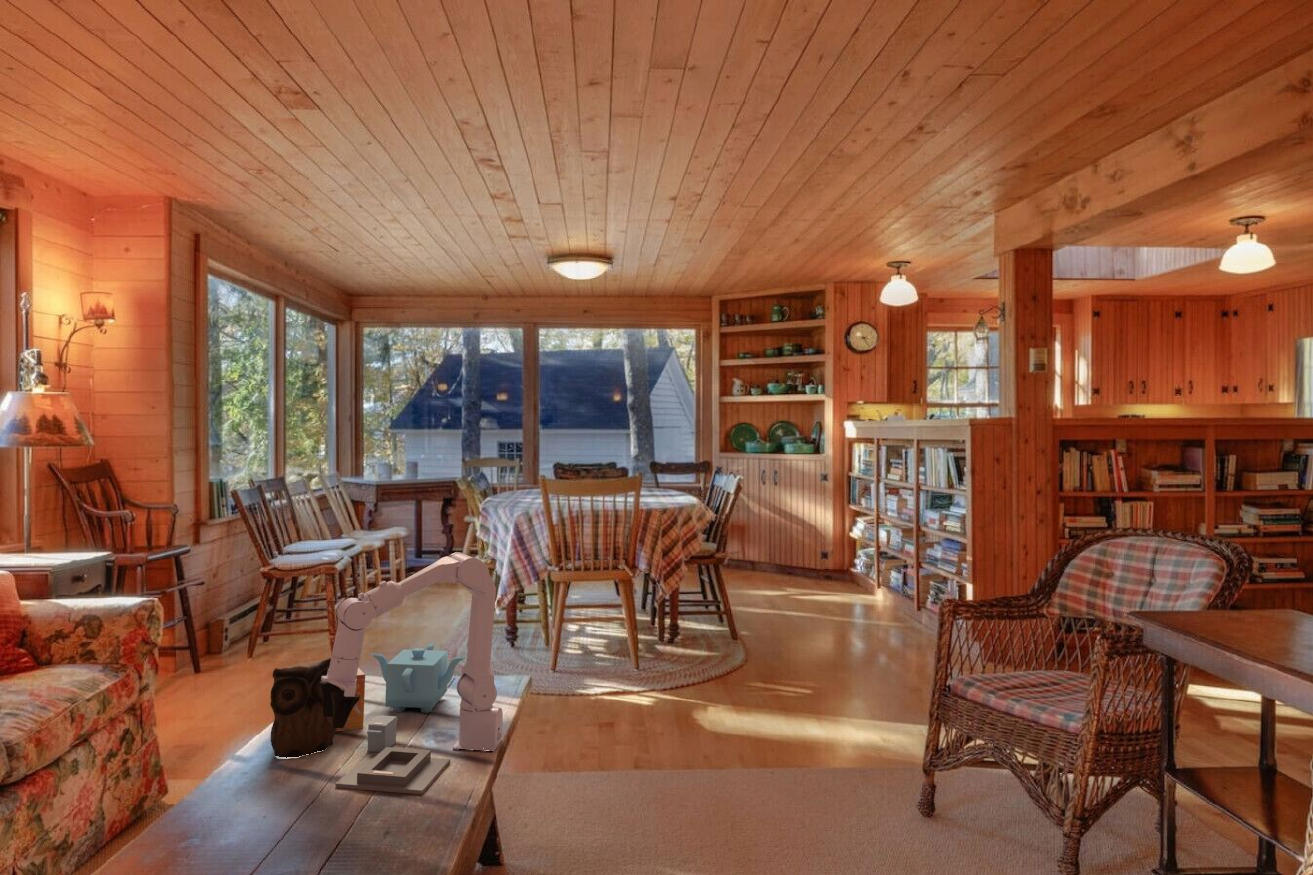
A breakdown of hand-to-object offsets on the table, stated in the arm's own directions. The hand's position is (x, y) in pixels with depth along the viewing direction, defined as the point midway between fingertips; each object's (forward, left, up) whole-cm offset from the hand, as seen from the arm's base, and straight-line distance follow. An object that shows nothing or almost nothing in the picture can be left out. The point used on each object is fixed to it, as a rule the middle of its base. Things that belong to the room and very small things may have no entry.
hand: (333, 721), depth 177 cm
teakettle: (-1, -44, -11) cm, 45 cm away
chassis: (-13, -1, -11) cm, 17 cm away
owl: (+13, -11, -11) cm, 20 cm away
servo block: (-4, -15, -11) cm, 19 cm away
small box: (+10, -25, -11) cm, 29 cm away
